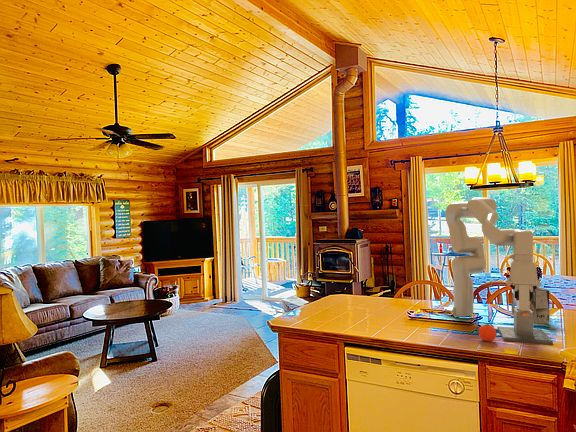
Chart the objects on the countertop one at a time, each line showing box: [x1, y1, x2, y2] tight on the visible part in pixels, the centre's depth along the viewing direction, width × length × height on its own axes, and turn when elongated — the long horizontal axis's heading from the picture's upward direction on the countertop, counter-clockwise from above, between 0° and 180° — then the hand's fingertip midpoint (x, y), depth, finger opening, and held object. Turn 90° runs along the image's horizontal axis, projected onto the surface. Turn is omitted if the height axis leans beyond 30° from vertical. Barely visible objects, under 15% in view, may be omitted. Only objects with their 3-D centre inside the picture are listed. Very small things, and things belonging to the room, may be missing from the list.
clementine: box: [478, 323, 498, 342], centre depth 181 cm, size 8×7×7 cm
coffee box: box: [529, 287, 550, 324], centre depth 212 cm, size 9×6×16 cm
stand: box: [497, 307, 554, 345], centre depth 186 cm, size 18×18×12 cm
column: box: [516, 285, 530, 312], centre depth 186 cm, size 4×4×19 cm
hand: (523, 299), depth 186 cm, fingers closed on column, 4 cm apart
